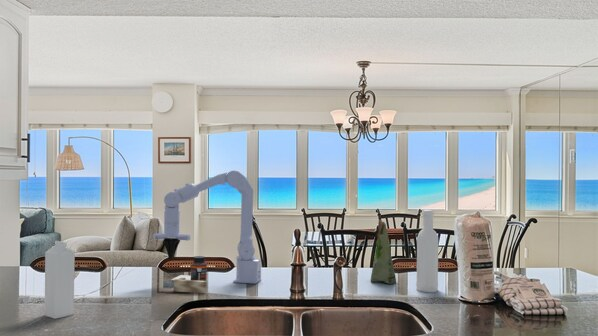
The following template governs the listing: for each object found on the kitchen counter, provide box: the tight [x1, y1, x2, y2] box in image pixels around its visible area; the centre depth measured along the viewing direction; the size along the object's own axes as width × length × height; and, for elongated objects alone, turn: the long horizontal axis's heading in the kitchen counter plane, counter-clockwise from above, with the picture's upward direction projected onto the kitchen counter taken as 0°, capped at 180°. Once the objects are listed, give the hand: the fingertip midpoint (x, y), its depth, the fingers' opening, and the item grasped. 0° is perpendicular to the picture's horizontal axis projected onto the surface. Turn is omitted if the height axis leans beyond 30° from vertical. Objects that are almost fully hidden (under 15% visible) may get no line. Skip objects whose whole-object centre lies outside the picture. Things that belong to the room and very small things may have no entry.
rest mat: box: [170, 274, 191, 282], centre depth 208 cm, size 9×9×1 cm
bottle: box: [415, 209, 439, 293], centre depth 195 cm, size 8×8×30 cm
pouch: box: [370, 219, 397, 285], centre depth 208 cm, size 11×12×25 cm
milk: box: [43, 240, 76, 320], centre depth 155 cm, size 6×6×22 cm
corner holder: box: [173, 278, 208, 294], centre depth 188 cm, size 12×5×4 cm, turn 79°
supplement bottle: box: [190, 255, 208, 282], centre depth 194 cm, size 6×6×11 cm
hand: (171, 258), depth 201 cm, fingers closed
